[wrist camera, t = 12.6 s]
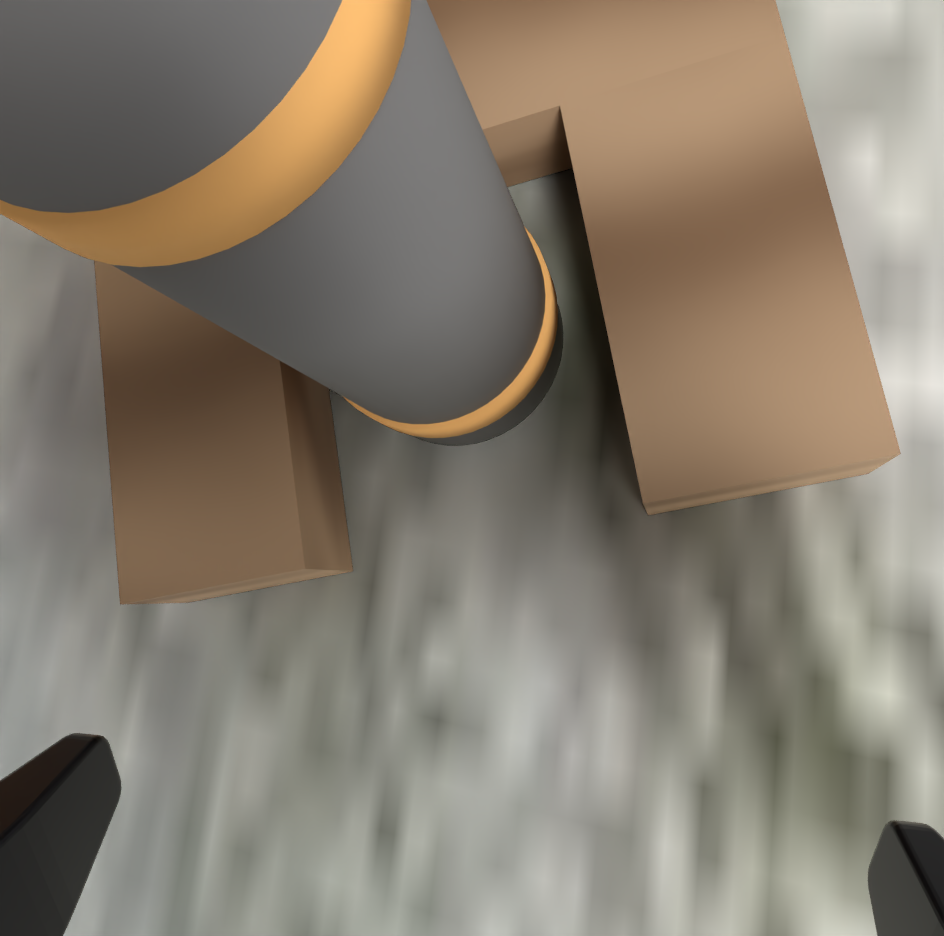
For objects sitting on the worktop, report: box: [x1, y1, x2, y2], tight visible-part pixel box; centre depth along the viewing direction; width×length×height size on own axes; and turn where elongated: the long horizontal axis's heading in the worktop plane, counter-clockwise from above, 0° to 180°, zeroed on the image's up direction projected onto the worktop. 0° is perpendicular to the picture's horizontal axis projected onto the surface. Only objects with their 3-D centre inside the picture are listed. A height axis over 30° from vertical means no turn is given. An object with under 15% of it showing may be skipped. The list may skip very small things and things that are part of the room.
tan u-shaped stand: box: [94, 0, 901, 604], centre depth 14 cm, size 15×16×12 cm
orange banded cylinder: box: [0, 0, 563, 445], centre depth 13 cm, size 5×5×13 cm
